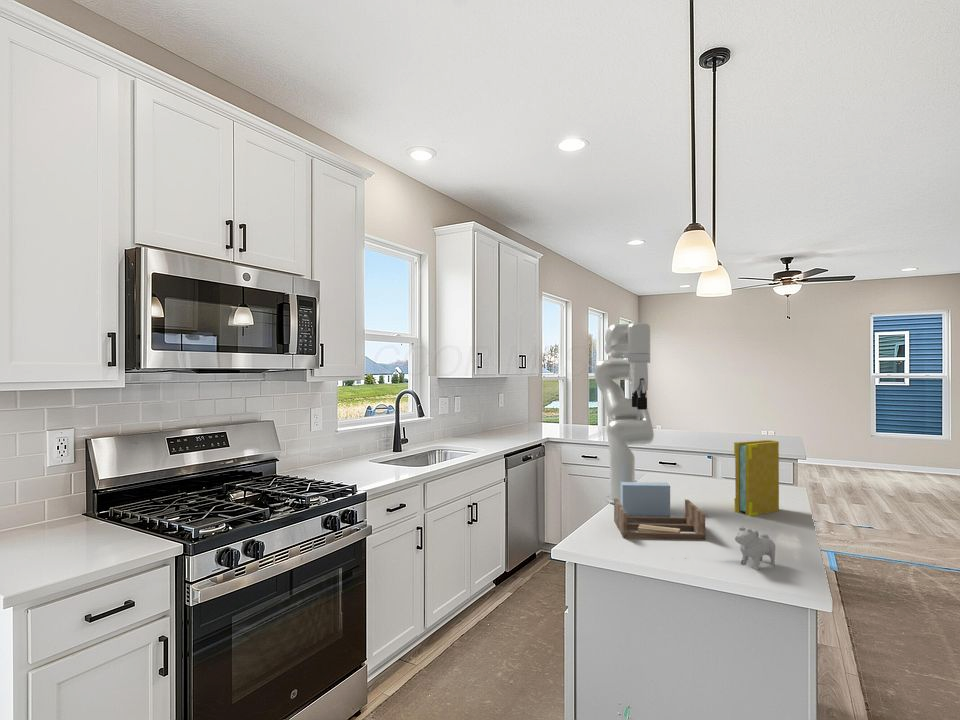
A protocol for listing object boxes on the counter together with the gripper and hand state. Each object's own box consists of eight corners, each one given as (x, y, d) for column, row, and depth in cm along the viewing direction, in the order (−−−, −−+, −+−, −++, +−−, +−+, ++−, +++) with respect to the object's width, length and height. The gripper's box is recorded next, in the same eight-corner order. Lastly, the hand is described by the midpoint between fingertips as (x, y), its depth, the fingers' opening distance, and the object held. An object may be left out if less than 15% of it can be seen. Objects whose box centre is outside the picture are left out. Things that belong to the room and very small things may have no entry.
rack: (614, 525, 188) (614, 498, 188) (688, 526, 186) (688, 499, 186) (623, 542, 170) (623, 512, 170) (705, 544, 168) (705, 514, 168)
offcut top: (640, 530, 179) (639, 524, 179) (680, 535, 174) (680, 528, 174) (637, 534, 175) (637, 527, 175) (678, 539, 170) (678, 532, 170)
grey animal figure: (729, 566, 151) (729, 526, 151) (761, 558, 157) (760, 519, 157) (747, 573, 146) (747, 531, 146) (779, 564, 152) (778, 524, 152)
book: (750, 516, 199) (749, 445, 199) (734, 511, 205) (734, 442, 205) (783, 510, 206) (783, 441, 206) (767, 506, 212) (767, 439, 212)
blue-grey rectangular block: (620, 515, 200) (620, 481, 200) (666, 516, 199) (666, 482, 199) (622, 519, 195) (622, 485, 195) (670, 520, 194) (670, 485, 194)
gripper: (623, 358, 205) (623, 406, 205) (632, 358, 188) (632, 410, 188) (644, 358, 204) (645, 406, 204) (655, 358, 187) (656, 410, 187)
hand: (639, 408), depth 196 cm, fingers open, 9 cm apart
